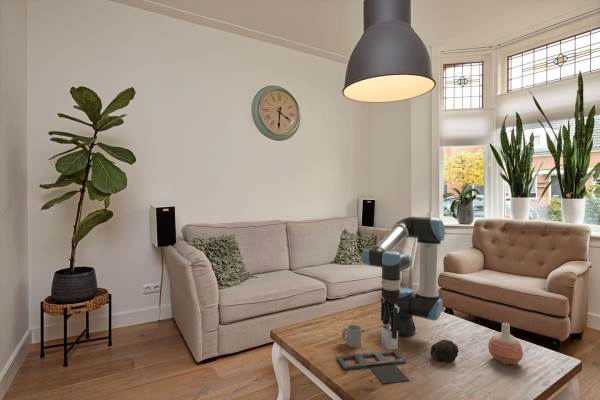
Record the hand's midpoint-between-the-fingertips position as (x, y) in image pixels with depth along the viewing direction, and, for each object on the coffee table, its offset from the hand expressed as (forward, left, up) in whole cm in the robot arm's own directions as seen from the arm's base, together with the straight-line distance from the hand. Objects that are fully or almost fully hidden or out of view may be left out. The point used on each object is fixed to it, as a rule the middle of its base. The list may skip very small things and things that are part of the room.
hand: (389, 342), depth 139 cm
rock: (-31, -6, -14) cm, 35 cm away
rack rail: (+3, -12, -14) cm, 19 cm away
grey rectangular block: (0, 0, -2) cm, 2 cm away
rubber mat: (0, 0, -14) cm, 14 cm away
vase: (-58, +1, -14) cm, 60 cm away
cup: (+6, -29, -14) cm, 33 cm away
